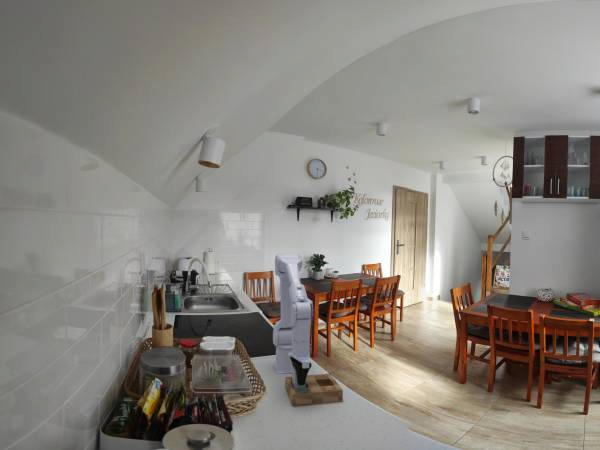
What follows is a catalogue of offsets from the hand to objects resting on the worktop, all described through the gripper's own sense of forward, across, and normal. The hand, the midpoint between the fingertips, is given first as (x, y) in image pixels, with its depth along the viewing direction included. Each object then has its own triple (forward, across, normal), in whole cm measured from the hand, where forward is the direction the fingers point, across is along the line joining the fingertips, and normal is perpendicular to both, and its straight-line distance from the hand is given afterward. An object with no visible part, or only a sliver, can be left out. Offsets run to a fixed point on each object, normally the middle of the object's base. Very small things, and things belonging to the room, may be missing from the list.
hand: (299, 381), depth 104 cm
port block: (+4, 0, +4) cm, 6 cm away
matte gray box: (+3, 0, 0) cm, 3 cm away
